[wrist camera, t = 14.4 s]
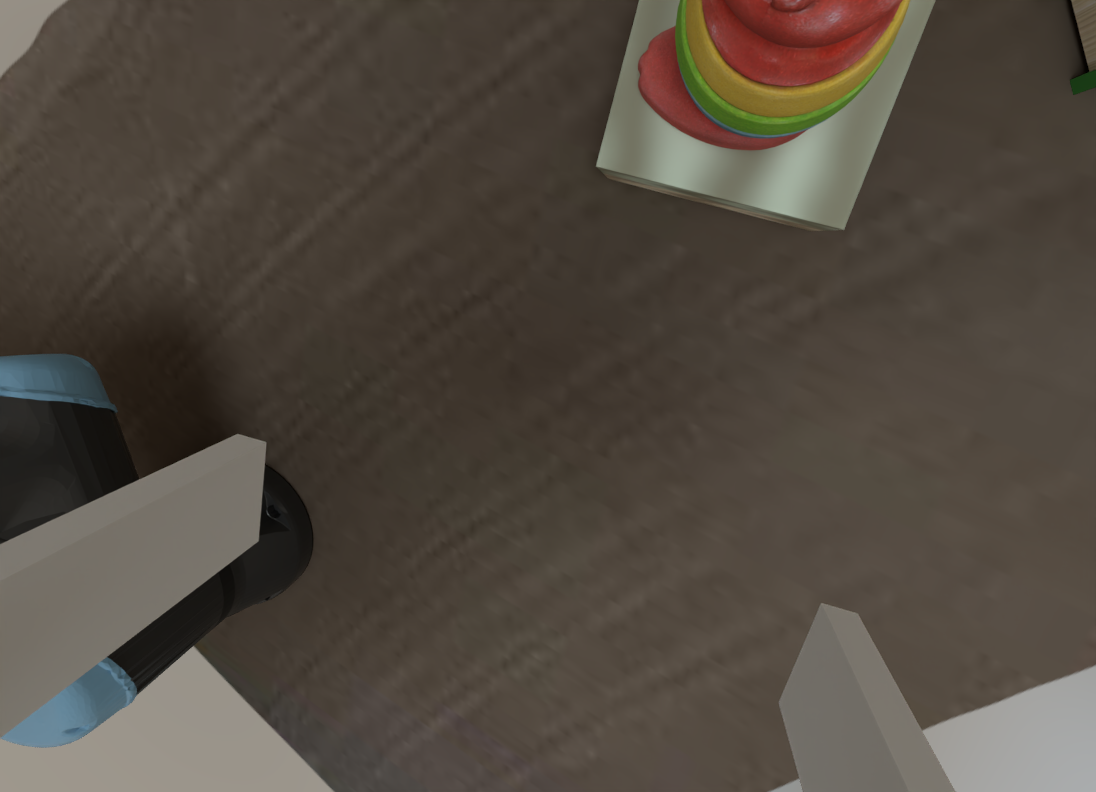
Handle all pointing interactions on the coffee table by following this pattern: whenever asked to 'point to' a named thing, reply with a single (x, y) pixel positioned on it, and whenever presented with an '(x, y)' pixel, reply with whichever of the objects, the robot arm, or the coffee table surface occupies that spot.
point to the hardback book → (1086, 43)
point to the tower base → (754, 175)
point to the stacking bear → (764, 65)
